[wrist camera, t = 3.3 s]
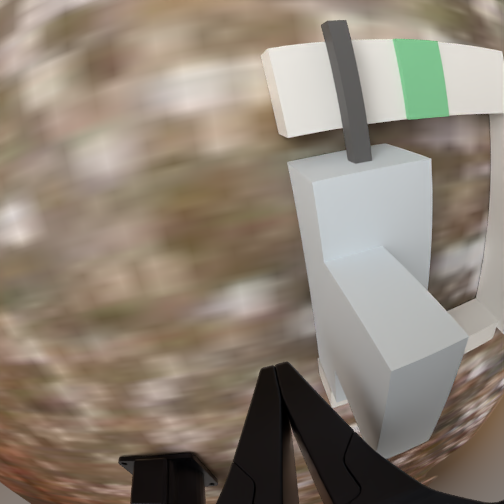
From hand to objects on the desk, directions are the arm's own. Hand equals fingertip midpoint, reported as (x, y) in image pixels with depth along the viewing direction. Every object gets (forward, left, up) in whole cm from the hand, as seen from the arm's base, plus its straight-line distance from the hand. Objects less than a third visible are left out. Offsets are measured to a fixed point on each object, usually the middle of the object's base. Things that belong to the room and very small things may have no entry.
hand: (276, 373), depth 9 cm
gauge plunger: (+2, -4, -5) cm, 7 cm away
